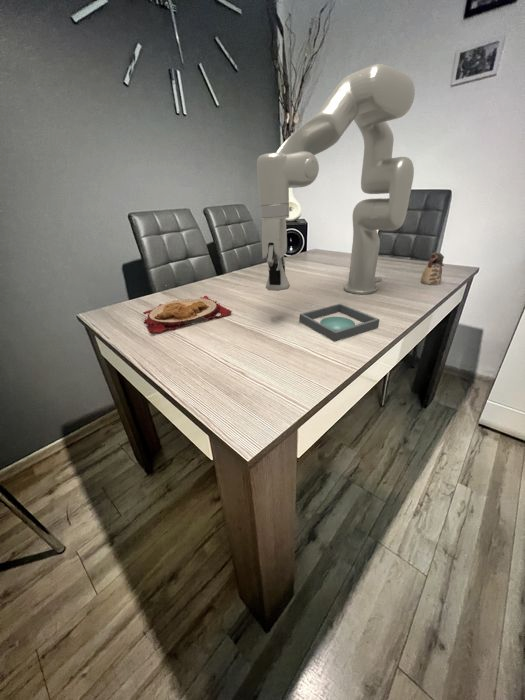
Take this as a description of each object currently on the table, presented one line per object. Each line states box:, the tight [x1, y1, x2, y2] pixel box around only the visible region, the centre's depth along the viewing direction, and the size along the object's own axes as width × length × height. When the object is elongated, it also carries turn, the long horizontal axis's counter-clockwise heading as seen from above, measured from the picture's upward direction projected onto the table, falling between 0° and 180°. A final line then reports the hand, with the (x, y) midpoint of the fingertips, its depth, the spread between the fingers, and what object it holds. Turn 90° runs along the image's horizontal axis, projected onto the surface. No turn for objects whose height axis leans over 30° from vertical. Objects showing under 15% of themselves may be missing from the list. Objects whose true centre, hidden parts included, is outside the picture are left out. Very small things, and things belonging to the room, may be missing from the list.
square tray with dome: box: [298, 303, 380, 342], centre depth 80 cm, size 16×16×2 cm
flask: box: [265, 257, 291, 292], centre depth 78 cm, size 7×7×10 cm
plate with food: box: [142, 295, 233, 334], centre depth 94 cm, size 25×26×4 cm
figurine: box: [420, 252, 445, 286], centre depth 109 cm, size 7×7×12 cm
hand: (277, 281), depth 79 cm, fingers closed on flask, 4 cm apart
